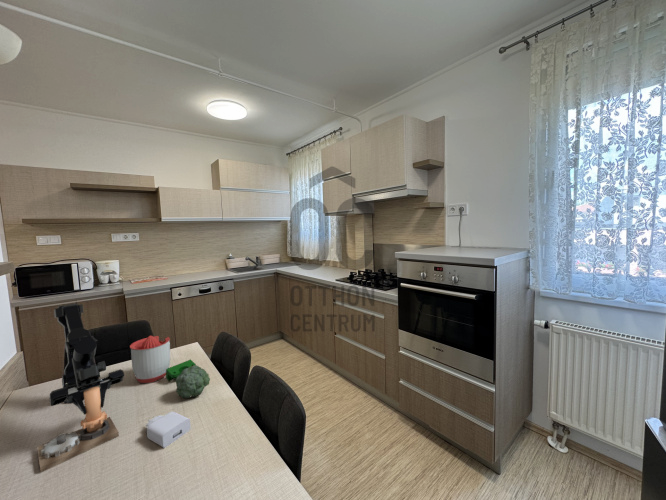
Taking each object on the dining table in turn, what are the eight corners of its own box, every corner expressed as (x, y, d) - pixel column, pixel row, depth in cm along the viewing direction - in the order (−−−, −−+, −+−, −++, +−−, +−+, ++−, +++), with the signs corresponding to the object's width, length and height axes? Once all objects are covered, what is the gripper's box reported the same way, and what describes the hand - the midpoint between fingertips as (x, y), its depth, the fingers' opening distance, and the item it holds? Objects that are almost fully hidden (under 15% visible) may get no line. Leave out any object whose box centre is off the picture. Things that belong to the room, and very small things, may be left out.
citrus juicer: (182, 368, 138) (180, 329, 136) (152, 388, 121) (149, 343, 120) (156, 365, 141) (153, 327, 140) (123, 384, 125) (120, 341, 123)
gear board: (40, 472, 79) (39, 456, 78) (37, 451, 87) (36, 436, 86) (118, 436, 93) (117, 421, 92) (110, 420, 100) (109, 407, 100)
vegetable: (219, 376, 125) (209, 378, 111) (198, 403, 120) (185, 408, 107) (199, 359, 127) (187, 359, 113) (177, 385, 122) (162, 387, 108)
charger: (164, 417, 102) (190, 430, 95) (137, 433, 94) (163, 449, 87) (163, 405, 101) (189, 417, 94) (136, 420, 93) (162, 435, 86)
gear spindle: (76, 433, 90) (72, 394, 89) (97, 419, 96) (94, 383, 95) (91, 436, 88) (88, 397, 88) (112, 422, 95) (109, 385, 94)
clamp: (175, 391, 126) (168, 378, 122) (169, 384, 129) (162, 371, 125) (200, 371, 134) (194, 359, 130) (193, 365, 137) (187, 353, 133)
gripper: (47, 367, 86) (54, 416, 80) (120, 347, 100) (131, 387, 94) (47, 382, 92) (53, 429, 86) (116, 361, 106) (127, 400, 100)
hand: (94, 410), depth 91 cm, fingers closed on gear spindle, 4 cm apart
